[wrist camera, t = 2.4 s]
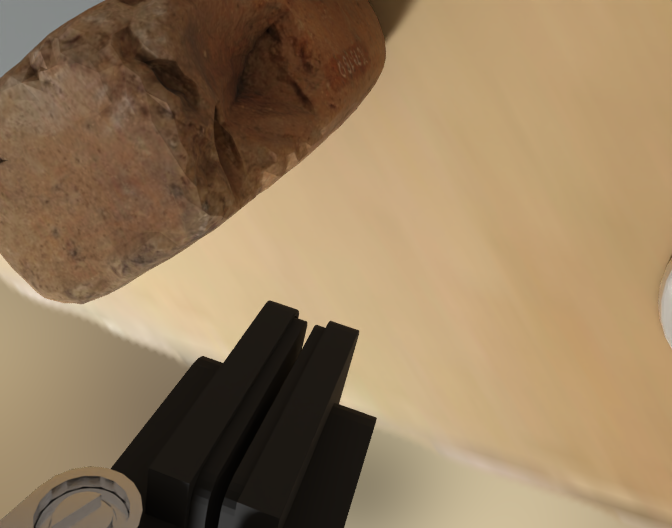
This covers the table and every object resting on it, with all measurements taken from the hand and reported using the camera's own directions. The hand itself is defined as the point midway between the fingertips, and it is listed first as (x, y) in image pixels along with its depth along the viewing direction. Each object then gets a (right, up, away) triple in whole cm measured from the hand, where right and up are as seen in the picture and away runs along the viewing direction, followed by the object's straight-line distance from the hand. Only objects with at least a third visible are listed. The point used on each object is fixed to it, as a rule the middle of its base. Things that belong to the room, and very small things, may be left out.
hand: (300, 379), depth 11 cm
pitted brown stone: (-2, +14, +23) cm, 26 cm away
